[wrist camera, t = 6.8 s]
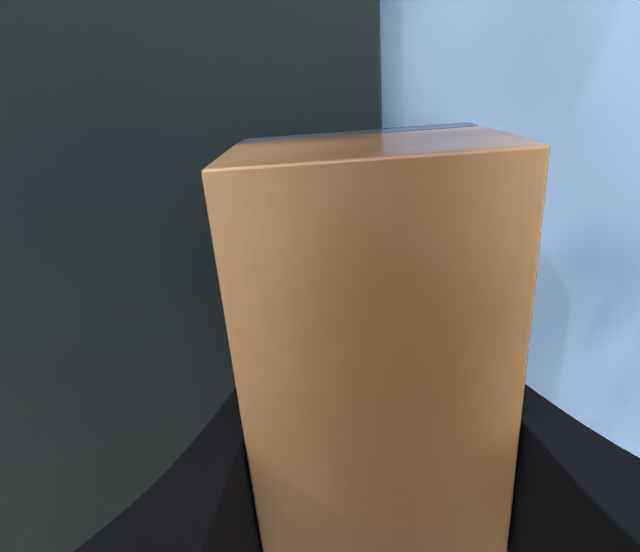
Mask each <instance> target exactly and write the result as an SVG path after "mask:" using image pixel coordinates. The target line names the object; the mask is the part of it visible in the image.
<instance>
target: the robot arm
mask: <svg viewBox="0 0 640 552" xmlns="http://www.w3.org/2000/svg"><path fill="white" fill-rule="evenodd" d="M507 551H508V552H640V458H639V457H637V456H635V455H633V454H631V453H630V452H628V451H626V450H624V449H623V448H621V447H619V446H617V445H616V444H614V443H612V442H611V441H609V440H607V439H606V438H604V437H603V436H601V435H599V434H598V433H596V432H595V431H593V430H591V429H590V428H588V427H586V426H585V425H583V424H582V423H580V422H579V421H577V420H576V419H574V418H573V417H571V416H570V415H568V414H567V413H565V412H564V411H562V410H561V409H559V408H558V407H557V406H555V405H554V404H552V403H551V402H549V401H548V400H547V399H545V398H544V397H542V396H541V395H540V394H538V393H537V392H535V391H534V390H533V389H531V388H530V387H528V386H527V385H526V384H525V387H524V397H523V406H522V415H521V425H520V434H519V444H518V453H517V462H516V472H515V481H514V491H513V500H512V509H511V519H510V528H509V538H508V547H507ZM73 552H263V551H262V545H261V539H260V532H259V526H258V520H257V514H256V508H255V502H254V496H253V489H252V483H251V477H250V471H249V465H248V459H247V452H246V446H245V440H244V434H243V428H242V422H241V415H240V409H239V403H238V397H237V391H236V386H235V388H234V389H233V390H232V392H231V393H230V394H229V396H228V397H227V398H226V400H225V401H224V403H223V404H222V405H221V407H220V408H219V409H218V410H217V412H216V413H215V414H214V416H213V417H212V418H211V419H210V421H209V422H208V423H207V424H206V426H205V427H204V428H203V429H202V431H201V432H200V433H199V434H198V436H197V437H196V438H195V439H194V440H193V442H192V443H191V444H190V445H189V446H188V447H187V448H186V449H185V451H184V452H183V453H182V454H181V455H180V456H179V457H178V458H177V459H176V461H175V462H174V463H173V464H172V465H171V466H170V467H169V468H168V469H167V470H166V471H165V473H164V474H163V475H162V476H161V477H160V478H159V479H158V480H157V481H156V482H155V483H154V484H153V485H152V486H151V487H150V488H149V489H147V490H146V491H145V492H144V493H143V494H142V495H141V496H140V497H139V498H138V499H137V500H136V501H135V502H133V503H132V504H131V505H130V506H129V507H128V508H127V509H125V510H124V511H123V512H122V513H121V514H119V515H118V516H117V517H116V518H114V519H113V520H112V521H111V522H110V523H108V524H107V525H106V526H105V527H103V528H102V529H101V530H100V531H98V532H97V533H96V534H95V535H94V536H92V537H91V538H90V539H89V540H87V541H86V542H85V543H84V544H82V545H81V546H80V547H78V548H77V549H76V550H74V551H73Z"/></svg>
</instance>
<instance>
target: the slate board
mask: <svg viewBox="0 0 640 552" xmlns="http://www.w3.org/2000/svg"><path fill="white" fill-rule="evenodd" d="M373 129H382V98H381V52H380V6H379V0H0V552H73V551H74V550H76V549H77V548H78V547H80V546H81V545H82V544H84V543H85V542H86V541H87V540H89V539H90V538H91V537H92V536H94V535H95V534H96V533H97V532H98V531H100V530H101V529H102V528H103V527H105V526H106V525H107V524H108V523H110V522H111V521H112V520H113V519H114V518H116V517H117V516H118V515H119V514H121V513H122V512H123V511H124V510H125V509H127V508H128V507H129V506H130V505H131V504H132V503H133V502H135V501H136V500H137V499H138V498H139V497H140V496H141V495H142V494H143V493H144V492H145V491H146V490H147V489H149V488H150V487H151V486H152V485H153V484H154V483H155V482H156V481H157V480H158V479H159V478H160V477H161V476H162V475H163V474H164V473H165V471H166V470H167V469H168V468H169V467H170V466H171V465H172V464H173V463H174V462H175V461H176V459H177V458H178V457H179V456H180V455H181V454H182V453H183V452H184V451H185V449H186V448H187V447H188V446H189V445H190V444H191V443H192V442H193V440H194V439H195V438H196V437H197V436H198V434H199V433H200V432H201V431H202V429H203V428H204V427H205V426H206V424H207V423H208V422H209V421H210V419H211V418H212V417H213V416H214V414H215V413H216V412H217V410H218V409H219V408H220V407H221V405H222V404H223V403H224V401H225V400H226V398H227V397H228V396H229V394H230V393H231V392H232V390H233V389H234V388H235V386H236V385H235V378H234V372H233V366H232V360H231V354H230V348H229V341H228V335H227V329H226V323H225V317H224V311H223V304H222V298H221V292H220V286H219V280H218V274H217V267H216V261H215V255H214V249H213V243H212V237H211V231H210V224H209V218H208V212H207V206H206V200H205V194H204V187H203V181H202V175H201V172H202V169H204V168H205V167H206V166H208V165H209V164H210V163H212V162H213V161H214V160H216V159H217V158H218V157H219V156H221V155H222V154H223V153H225V152H226V151H227V150H229V149H230V148H231V147H232V146H234V145H235V144H238V143H239V142H240V141H242V140H244V139H250V138H263V137H277V136H291V135H304V134H318V133H332V132H345V131H359V130H373Z"/></svg>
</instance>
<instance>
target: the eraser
mask: <svg viewBox="0 0 640 552" xmlns="http://www.w3.org/2000/svg"><path fill="white" fill-rule="evenodd" d="M549 152H550V147H549V145H547V144H544V143H541V142H537V141H534V140H530V139H527V138H523V137H520V136H516V135H513V134H509V133H506V132H502V131H499V130H495V129H492V128H488V127H485V126H478V125H475V124H471V123H455V124H441V125H427V126H414V127H400V128H386V129H373V130H359V131H345V132H332V133H318V134H304V135H291V136H277V137H263V138H250V139H244V140H242V141H240V142H239V143H238V144H235V145H234V146H232V147H231V148H230V149H229V150H227V151H226V152H225V153H223V154H222V155H221V156H219V157H218V158H217V159H216V160H214V161H213V162H212V163H210V164H209V165H208V166H206V167H205V168H204V169H202V172H201V175H202V181H203V187H204V194H205V200H206V206H207V212H208V218H209V224H210V231H211V237H212V243H213V249H214V255H215V261H216V267H217V274H218V280H219V286H220V292H221V298H222V304H223V311H224V317H225V323H226V329H227V335H228V341H229V348H230V354H231V360H232V366H233V372H234V378H235V385H236V391H237V397H238V403H239V409H240V415H241V422H242V428H243V434H244V440H245V446H246V452H247V459H248V465H249V471H250V477H251V483H252V489H253V496H254V502H255V508H256V514H257V520H258V526H259V532H260V539H261V545H262V551H263V552H507V547H508V538H509V528H510V519H511V509H512V500H513V491H514V481H515V472H516V462H517V453H518V444H519V434H520V425H521V415H522V406H523V397H524V387H525V378H526V368H527V359H528V350H529V340H530V331H531V321H532V312H533V303H534V293H535V284H536V274H537V265H538V256H539V246H540V237H541V227H542V218H543V209H544V199H545V190H546V180H547V171H548V162H549Z"/></svg>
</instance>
